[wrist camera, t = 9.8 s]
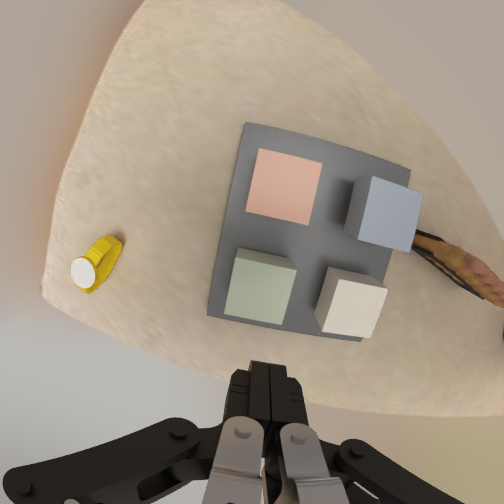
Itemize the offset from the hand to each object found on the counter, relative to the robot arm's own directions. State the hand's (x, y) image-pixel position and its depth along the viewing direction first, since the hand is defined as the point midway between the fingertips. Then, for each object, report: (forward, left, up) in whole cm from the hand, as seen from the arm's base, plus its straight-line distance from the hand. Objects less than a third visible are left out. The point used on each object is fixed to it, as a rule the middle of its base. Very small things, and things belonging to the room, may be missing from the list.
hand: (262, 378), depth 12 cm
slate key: (-8, -8, -12) cm, 17 cm away
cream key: (-8, 0, -14) cm, 16 cm away
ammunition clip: (-19, -6, -16) cm, 26 cm away
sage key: (0, 0, -14) cm, 14 cm away
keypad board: (-4, -4, -16) cm, 17 cm away
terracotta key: (0, -8, -14) cm, 16 cm away
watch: (+15, +2, -16) cm, 22 cm away
